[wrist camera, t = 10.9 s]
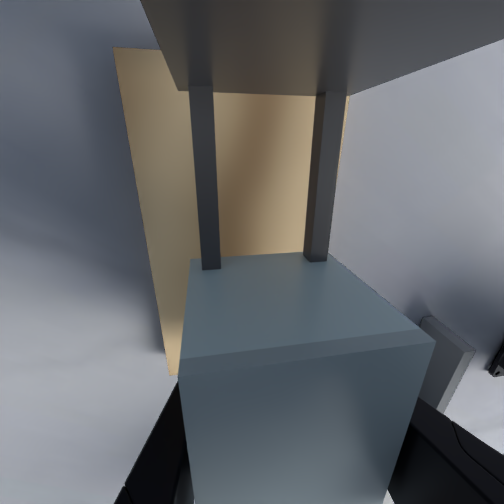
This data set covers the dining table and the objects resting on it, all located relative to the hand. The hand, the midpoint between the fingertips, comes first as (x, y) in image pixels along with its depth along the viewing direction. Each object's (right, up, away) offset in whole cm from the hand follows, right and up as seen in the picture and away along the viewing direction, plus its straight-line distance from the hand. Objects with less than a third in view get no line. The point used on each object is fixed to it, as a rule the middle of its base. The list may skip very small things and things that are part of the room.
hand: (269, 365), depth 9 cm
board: (-1, +5, +5) cm, 7 cm away
